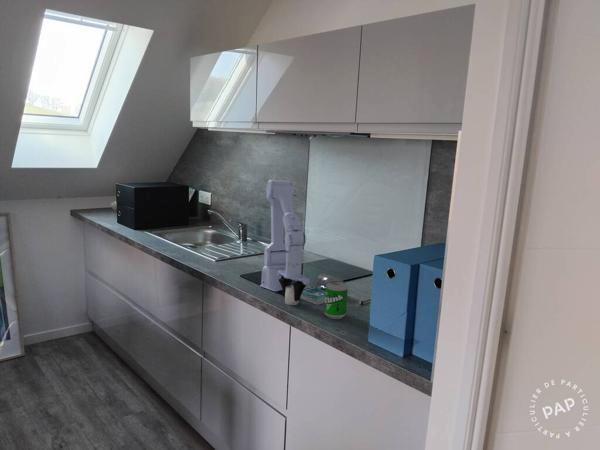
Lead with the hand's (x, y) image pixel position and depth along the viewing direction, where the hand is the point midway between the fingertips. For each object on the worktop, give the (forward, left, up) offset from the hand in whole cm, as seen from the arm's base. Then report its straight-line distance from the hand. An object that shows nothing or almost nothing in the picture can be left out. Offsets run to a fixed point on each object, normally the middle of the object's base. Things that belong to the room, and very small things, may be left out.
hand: (291, 298), depth 170 cm
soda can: (+19, +2, -2) cm, 19 cm away
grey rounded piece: (0, 0, -2) cm, 2 cm away
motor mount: (+2, +15, -2) cm, 15 cm away
